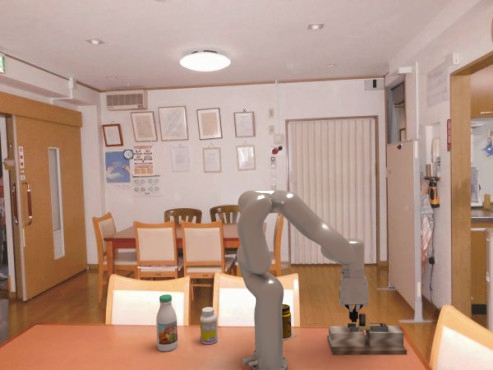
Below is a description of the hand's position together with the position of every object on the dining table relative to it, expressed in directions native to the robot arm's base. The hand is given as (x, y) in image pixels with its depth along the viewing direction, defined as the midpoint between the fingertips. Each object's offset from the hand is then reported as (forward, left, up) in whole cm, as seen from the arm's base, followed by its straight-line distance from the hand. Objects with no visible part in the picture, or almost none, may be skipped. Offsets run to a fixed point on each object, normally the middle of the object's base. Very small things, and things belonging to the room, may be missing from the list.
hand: (353, 320), depth 140 cm
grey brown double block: (+4, -2, -10) cm, 11 cm away
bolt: (+5, -2, -3) cm, 6 cm away
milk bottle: (-64, +29, -10) cm, 71 cm away
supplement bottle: (-48, +27, -10) cm, 56 cm away
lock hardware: (+5, -2, -3) cm, 6 cm away
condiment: (-20, +19, -10) cm, 30 cm away
